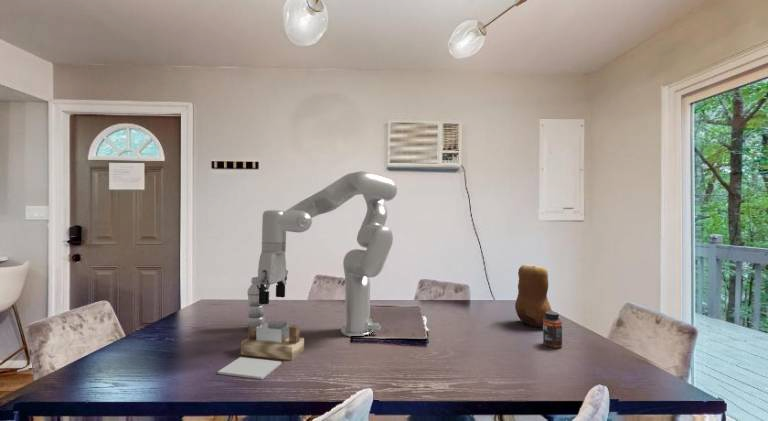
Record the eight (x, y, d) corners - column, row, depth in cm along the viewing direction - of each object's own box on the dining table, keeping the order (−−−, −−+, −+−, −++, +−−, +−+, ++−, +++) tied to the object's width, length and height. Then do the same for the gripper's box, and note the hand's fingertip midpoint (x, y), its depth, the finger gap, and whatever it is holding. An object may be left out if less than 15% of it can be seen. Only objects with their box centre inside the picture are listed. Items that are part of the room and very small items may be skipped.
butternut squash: (553, 323, 140) (553, 263, 140) (549, 332, 128) (549, 267, 129) (518, 318, 147) (518, 261, 147) (511, 326, 136) (511, 264, 136)
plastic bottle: (259, 332, 128) (259, 279, 128) (243, 330, 129) (244, 279, 129) (268, 326, 134) (268, 276, 134) (253, 325, 135) (253, 276, 136)
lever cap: (289, 338, 110) (289, 321, 110) (281, 343, 105) (281, 325, 105) (265, 336, 112) (265, 319, 112) (256, 341, 107) (256, 323, 107)
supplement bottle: (564, 345, 116) (564, 312, 116) (559, 350, 111) (559, 316, 112) (546, 340, 120) (546, 309, 120) (540, 345, 116) (540, 312, 116)
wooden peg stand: (303, 350, 111) (304, 322, 111) (292, 360, 103) (292, 330, 103) (255, 345, 115) (256, 318, 115) (240, 354, 107) (241, 326, 107)
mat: (281, 363, 100) (281, 361, 100) (261, 379, 91) (261, 377, 91) (240, 358, 103) (240, 357, 103) (217, 373, 94) (217, 371, 94)
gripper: (277, 245, 119) (276, 293, 118) (247, 249, 102) (245, 306, 101) (296, 246, 117) (295, 295, 116) (269, 250, 100) (267, 307, 99)
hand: (272, 300), depth 109 cm, fingers open, 9 cm apart
